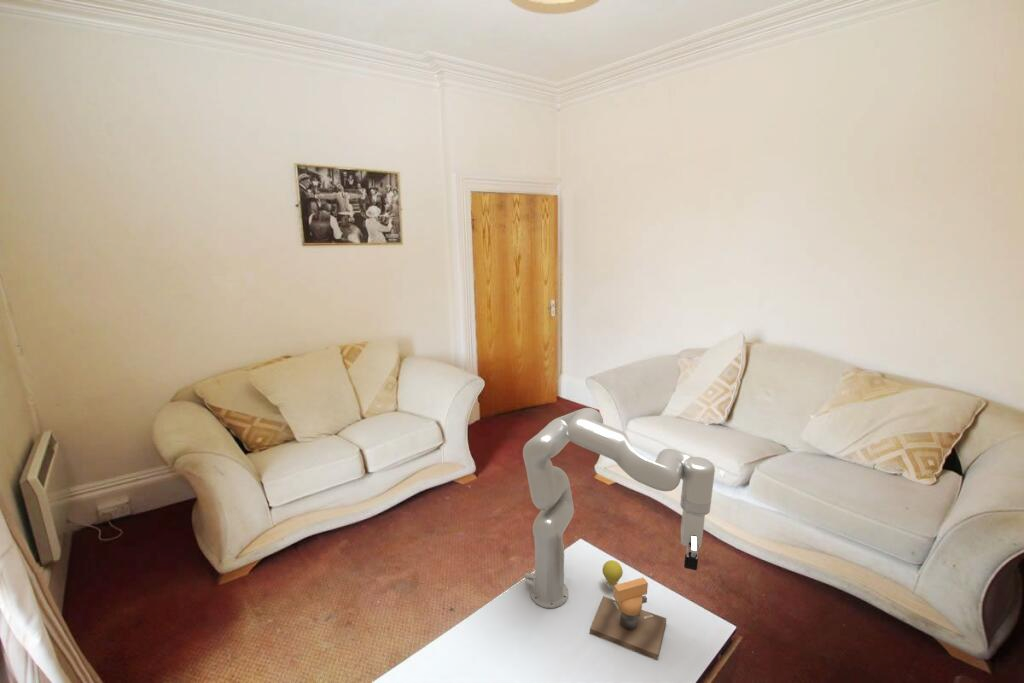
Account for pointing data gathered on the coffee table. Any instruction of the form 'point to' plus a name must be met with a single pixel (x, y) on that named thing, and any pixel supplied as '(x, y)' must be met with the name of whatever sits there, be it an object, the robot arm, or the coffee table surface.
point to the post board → (629, 638)
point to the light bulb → (612, 573)
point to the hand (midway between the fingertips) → (689, 556)
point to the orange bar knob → (631, 596)
